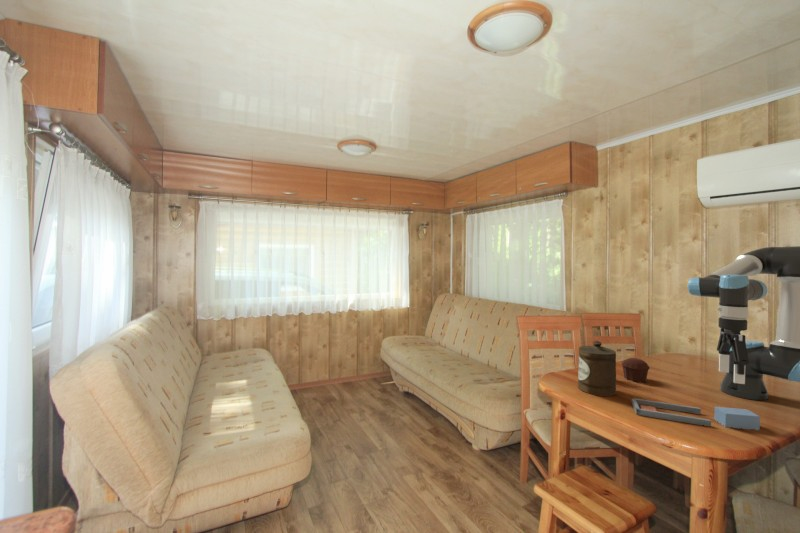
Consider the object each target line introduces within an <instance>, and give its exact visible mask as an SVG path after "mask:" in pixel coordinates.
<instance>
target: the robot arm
mask: <svg viewBox="0 0 800 533" xmlns="http://www.w3.org/2000/svg"><path fill="white" fill-rule="evenodd" d="M756 275H776V279H777V280H778V281H779V282H780V283H781V284H780V294H779V302H778V303H779V304H778V311H777V312H778V314H777V322H776V333H775V340H773V341H771V342H770V343H769V346H765V344H764V341H763V342H762V341H757V340H746V335H745V334H741V332H742V331H747V330H748V320H747V319H748V318H749V306H748V305H749V301H758V300H760V299H763V298H765V297H766V295H767V294H768V291H769V290H768V286H767V285H766V284H765V282H763V281H761V280H758V279H755V278H753V279H750V278H749V277H752V276H756ZM687 291H688V294H690V295H692V296H698V297H703V298H704V297H707V298H718V299H719V303H718V307H717V308H716V309H717V311H718V316H720V317H719V318H718V328H720V334H719V338H718V343H717V346H716V351H717V352H718V372H720V373H725V375H724V377H723V379H722V380H721V383H720V389H719V390H720V391H721V392H723V393H725V394H727V395H731V396H734V397H737V398H741V399H747V400H757V401H766V400H768V399H769V392H768V389H767V387H766V384H765V382H764V376H765V375H766V376H768V377H769V376H770V377H773V378H779V379H782V380H787V381H789V382H796V383H800V246H768V247H767V246H766V247H761V248H757V249H754V250H751V251H748V252H745V253H743V254H741V255H739V256H737V257H736V258H735V259H734V261H733V262H731V263H728V264H727V265H725V266H724V267H721V268H720V269H718V270H716V271H714V272H712V273H710V274H708V275H706V276H704V277H701V276H699V277H691V278H689V280H688V282H687Z"/></svg>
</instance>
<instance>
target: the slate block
mask: <svg viewBox="0 0 800 533" xmlns="http://www.w3.org/2000/svg"><path fill="white" fill-rule="evenodd" d="M713 418H714V419H715V420H714V421H716V422H717V421H718V422H717V423H719V424H720V423H721V424H720V425H722V426H723V425H724V426H723V427H724V428H730V427H733V428H734V429H741V428H742V429H743V430H751V429H755V430H754V431H760V426H761V423H760V421H761V417H760V415H758V414H757V413H754V412H753V411H751V410H749V409H747V408H735V407H722V406H714V417H713ZM733 428H732V429H733Z"/></svg>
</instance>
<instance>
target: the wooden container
mask: <svg viewBox="0 0 800 533" xmlns="http://www.w3.org/2000/svg"><path fill="white" fill-rule="evenodd" d="M601 346H602V342H600V341H599V340H594V341H593V342H592V345H583V346H579V347H578V372H577V373H578V374H577V375H578V376H577V377H578V380H577V381H578V382H577V384H578V386H577V387H578V389H579V390H580V391H582V392H583V393H584V392H585V394H590V395H592V396H593V395H594V396H601V397H611V396H614V395H616V392H617V354H616V353H617V352H616V351H615V350H614V349H611V348H608V347H605V348H603V347H604V346H602V347H601Z"/></svg>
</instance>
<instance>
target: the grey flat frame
mask: <svg viewBox="0 0 800 533" xmlns="http://www.w3.org/2000/svg"><path fill="white" fill-rule="evenodd" d="M631 405H632V408H633V409H634V412H635V414H636V416H644V417H650V418H655V419H656V418H657V419H662V420H667V421H673V422H679V423H680V422H681V423H686V424H692V425H697V426H703V425H704V426H705V427H709V426H711V427H712V420H711V419H708V418H700V417H694V416H687V415H681V414H676V413H669V412H663V411H658V410H657V408H658V409H665V410H670V411H677V412H684V413H690V414H695V415H696V414H697V415H701V412H702V411H701V410H702V409H701V408H700V407H697V406H696V407H695V406H689V405H682V404H675V403H668V402H662V401H657V400H655V401H654V400H649V399H642V398H635V397H631ZM704 426H703V427H704Z"/></svg>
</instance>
